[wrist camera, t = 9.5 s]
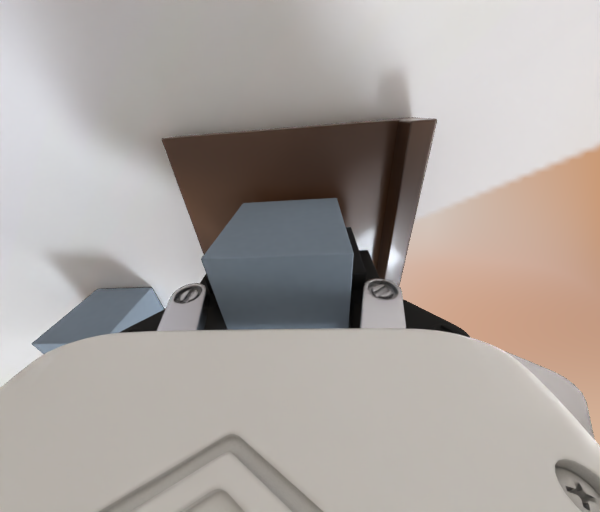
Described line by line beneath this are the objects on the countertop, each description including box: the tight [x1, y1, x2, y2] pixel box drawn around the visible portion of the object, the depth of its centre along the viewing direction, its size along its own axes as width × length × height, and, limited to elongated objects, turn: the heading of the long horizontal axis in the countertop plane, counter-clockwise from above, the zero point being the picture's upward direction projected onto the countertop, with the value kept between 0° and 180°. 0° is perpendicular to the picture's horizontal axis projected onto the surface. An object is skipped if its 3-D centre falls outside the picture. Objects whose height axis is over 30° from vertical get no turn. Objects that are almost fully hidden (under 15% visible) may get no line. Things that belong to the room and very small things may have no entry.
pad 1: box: [32, 288, 164, 354], centre depth 17 cm, size 6×5×5 cm
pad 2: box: [201, 198, 354, 330], centre depth 10 cm, size 6×5×5 cm
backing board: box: [162, 117, 437, 286], centre depth 15 cm, size 18×12×2 cm, turn 4°
